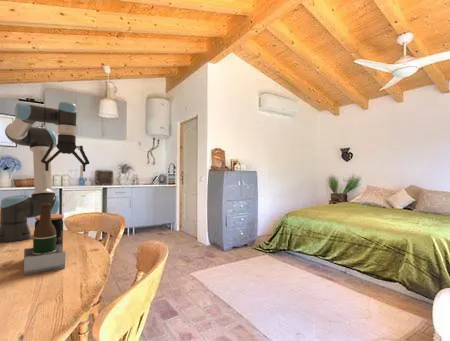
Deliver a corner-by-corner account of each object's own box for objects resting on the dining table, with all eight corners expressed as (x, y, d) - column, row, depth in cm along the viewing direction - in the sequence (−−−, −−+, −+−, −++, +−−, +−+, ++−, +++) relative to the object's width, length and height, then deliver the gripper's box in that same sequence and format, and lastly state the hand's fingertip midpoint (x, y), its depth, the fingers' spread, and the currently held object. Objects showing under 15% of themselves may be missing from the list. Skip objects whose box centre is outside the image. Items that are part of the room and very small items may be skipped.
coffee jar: (48, 261, 111) (49, 219, 111) (27, 258, 113) (28, 217, 113) (68, 253, 121) (69, 214, 121) (48, 251, 123) (49, 213, 123)
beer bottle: (53, 264, 103) (55, 204, 103) (29, 267, 100) (31, 204, 100) (57, 258, 110) (59, 201, 110) (35, 260, 107) (36, 202, 107)
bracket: (23, 264, 106) (24, 248, 106) (61, 258, 114) (61, 244, 114) (23, 275, 96) (24, 257, 96) (64, 268, 104) (65, 251, 104)
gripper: (35, 131, 117) (34, 178, 117) (96, 136, 132) (95, 178, 132) (35, 132, 123) (33, 177, 123) (93, 137, 138) (92, 177, 138)
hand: (65, 178), depth 128 cm, fingers open, 13 cm apart
